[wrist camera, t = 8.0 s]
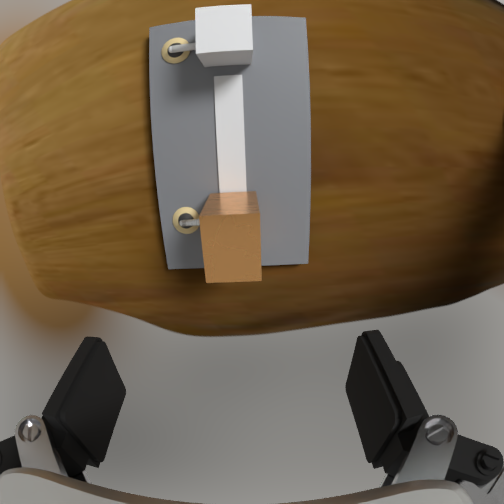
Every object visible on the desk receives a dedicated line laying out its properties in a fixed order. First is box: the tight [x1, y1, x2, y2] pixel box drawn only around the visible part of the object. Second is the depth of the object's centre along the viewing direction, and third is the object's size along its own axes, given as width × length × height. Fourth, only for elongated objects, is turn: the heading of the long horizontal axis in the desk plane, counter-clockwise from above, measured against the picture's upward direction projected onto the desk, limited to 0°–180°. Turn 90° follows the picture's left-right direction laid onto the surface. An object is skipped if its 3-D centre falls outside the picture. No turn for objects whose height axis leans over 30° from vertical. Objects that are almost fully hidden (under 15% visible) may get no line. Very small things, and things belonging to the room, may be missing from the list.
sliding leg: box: [179, 191, 262, 283], centre depth 23 cm, size 7×5×7 cm
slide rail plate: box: [149, 4, 311, 269], centre depth 23 cm, size 14×24×6 cm, turn 2°
